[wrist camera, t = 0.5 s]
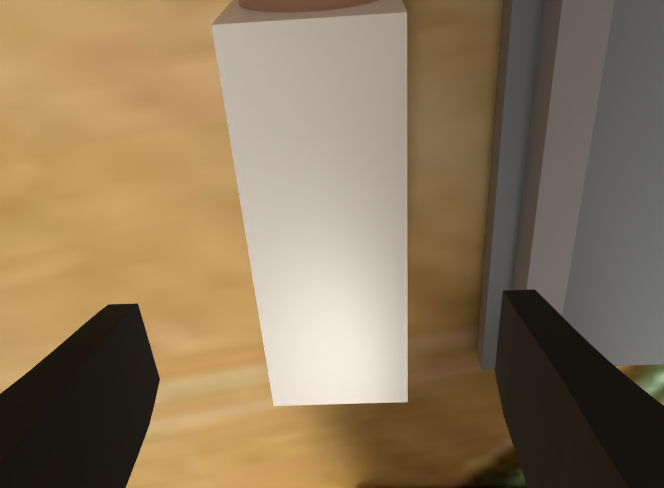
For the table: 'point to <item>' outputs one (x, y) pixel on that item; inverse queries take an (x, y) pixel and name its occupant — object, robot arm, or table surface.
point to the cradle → (580, 173)
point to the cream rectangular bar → (323, 189)
